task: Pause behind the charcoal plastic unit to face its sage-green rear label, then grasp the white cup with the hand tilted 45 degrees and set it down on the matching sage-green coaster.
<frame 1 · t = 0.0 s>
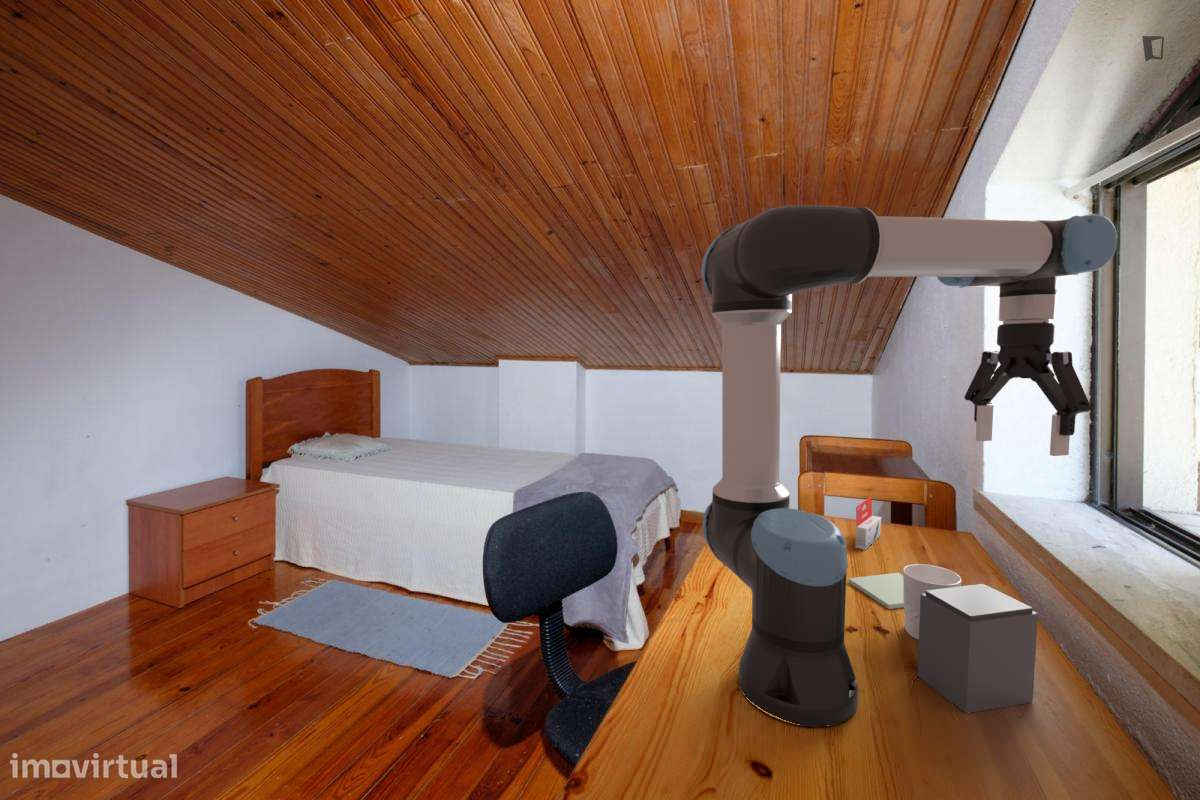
hand: (1018, 447, 92), 28 cm above the table, tool pointing down, fingers open, 13 cm apart
coaster: (893, 591, 101), on the table
white cup: (929, 635, 86), on the table
ink cartridge box: (868, 543, 126), on the table
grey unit: (972, 688, 73), on the table
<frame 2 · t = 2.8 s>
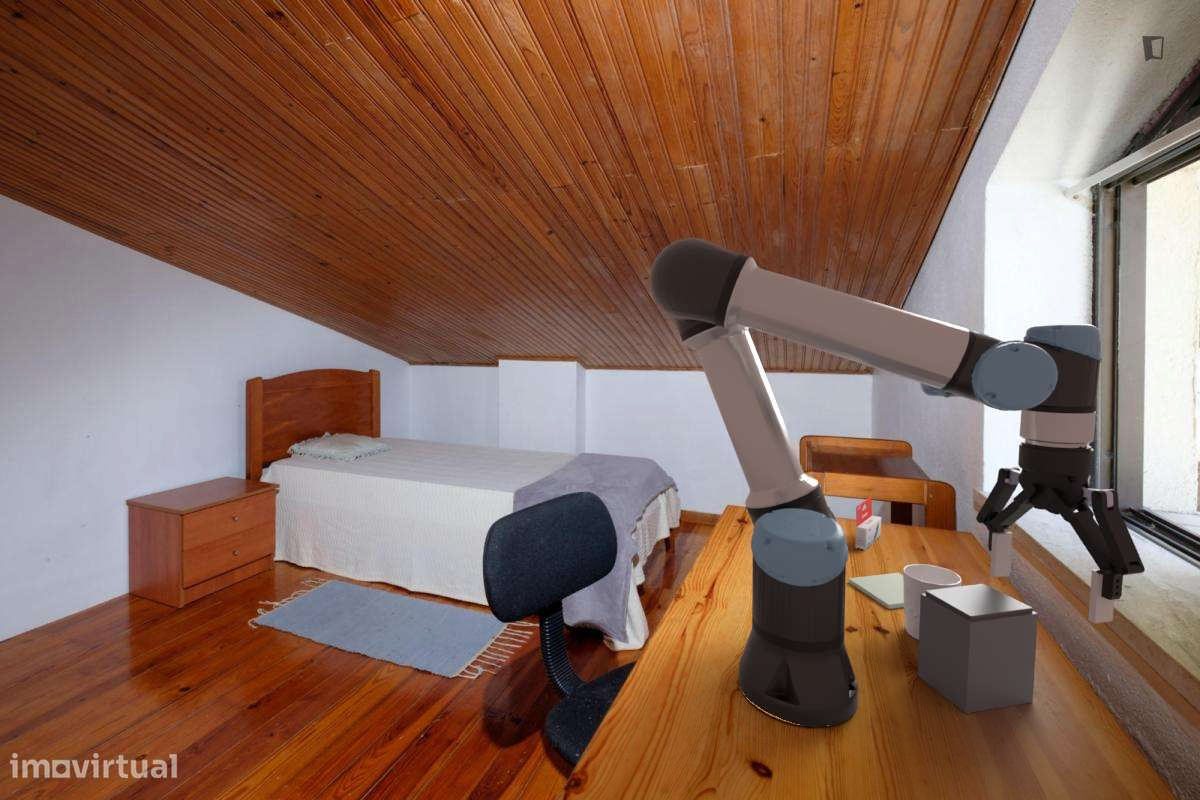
hand: (1045, 596, 73), 12 cm above the table, tool pointing down, fingers open, 13 cm apart
nothing on the table moved.
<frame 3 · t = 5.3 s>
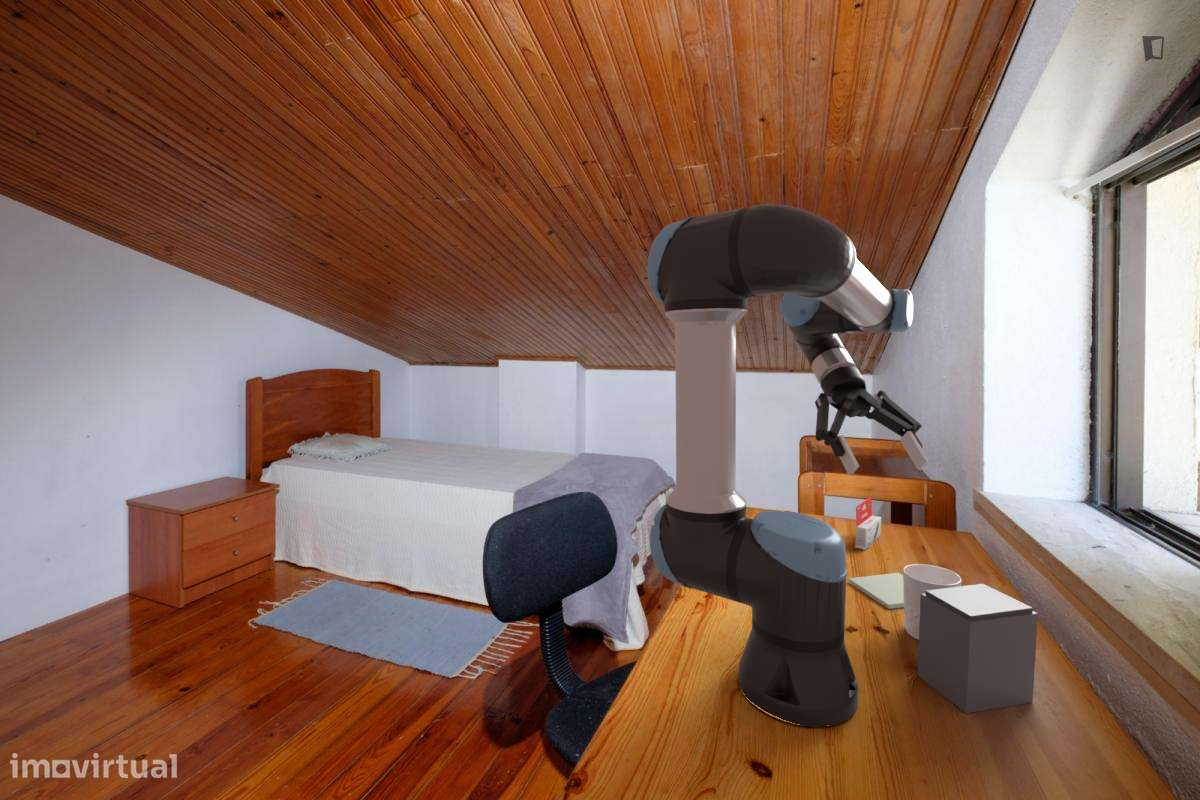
hand: (889, 468, 94), 25 cm above the table, tool tilted 45°, fingers open, 13 cm apart
nothing on the table moved.
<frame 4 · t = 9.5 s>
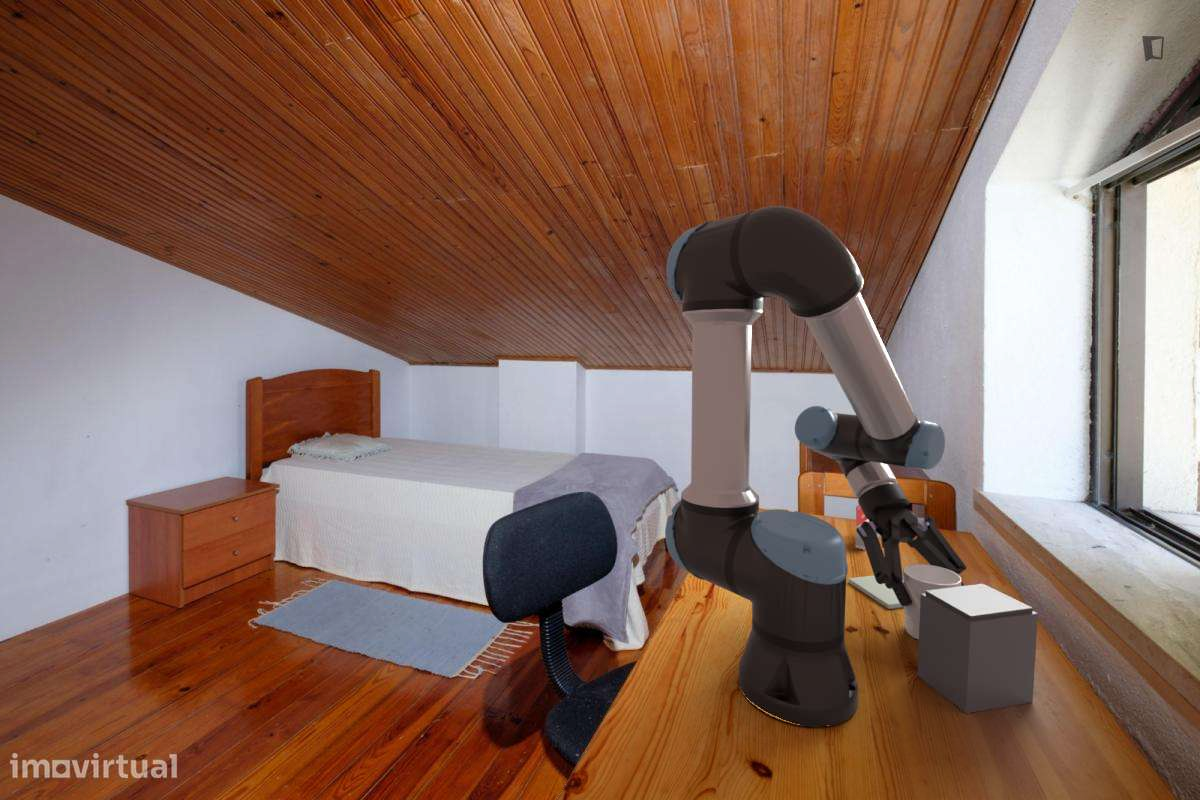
hand: (947, 622, 83), 4 cm above the table, tool tilted 45°, fingers closed on white cup, 8 cm apart
white cup: (929, 635, 86), on the table, touching gripper
everything else where it was.
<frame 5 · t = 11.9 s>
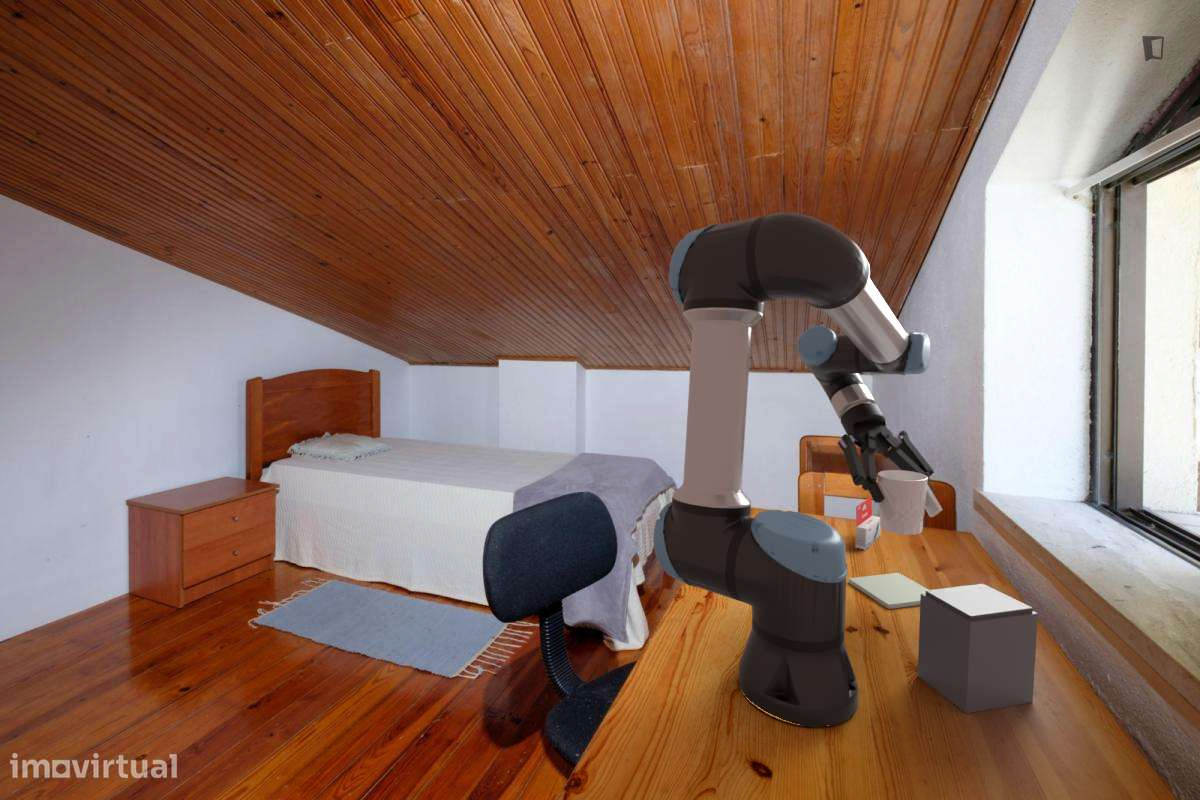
hand: (915, 515, 95), 16 cm above the table, tool tilted 45°, fingers closed on white cup, 8 cm apart
white cup: (900, 529, 98), point 12 cm above the table, touching gripper
everything else where it was.
when the fingers open (5 cm above the table, at t = 14.4 s): white cup stays where it is, resting on coaster.
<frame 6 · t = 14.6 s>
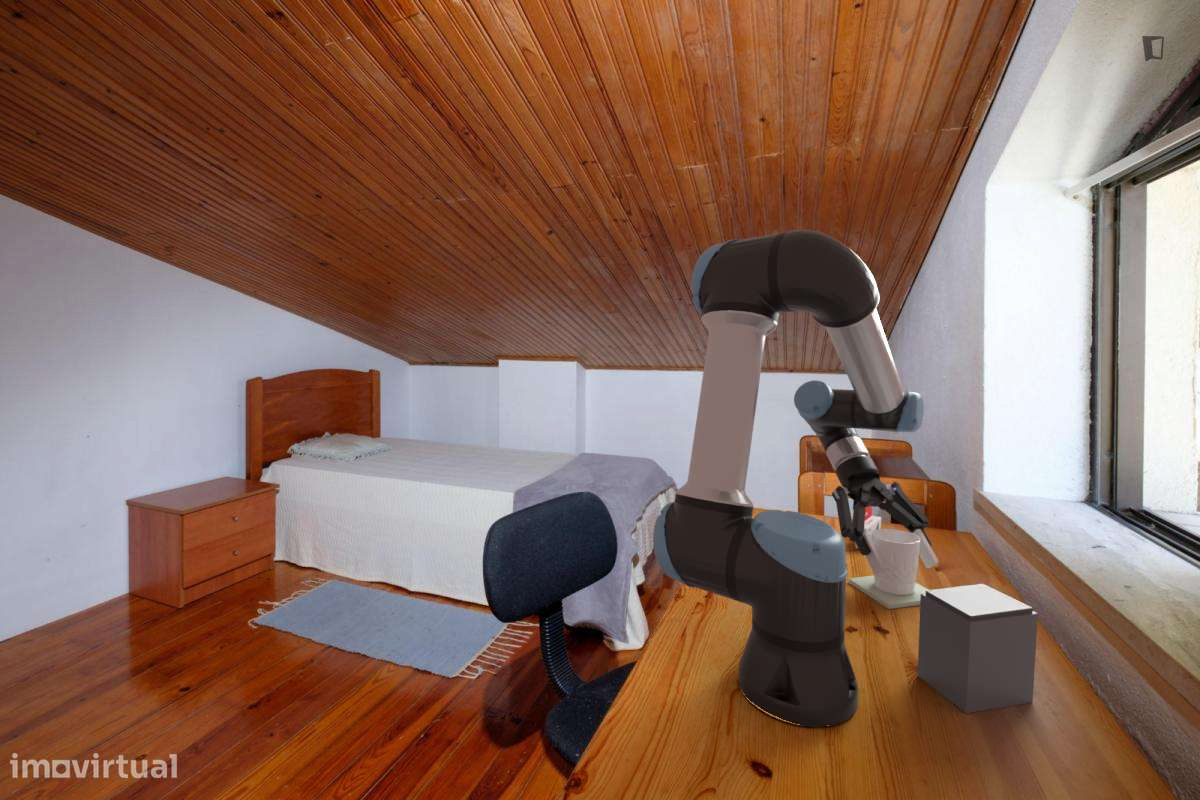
hand: (906, 568, 97), 6 cm above the table, tool tilted 45°, fingers open, 10 cm apart
white cup: (894, 588, 101), point 1 cm above the table, touching coaster
everything else where it was.
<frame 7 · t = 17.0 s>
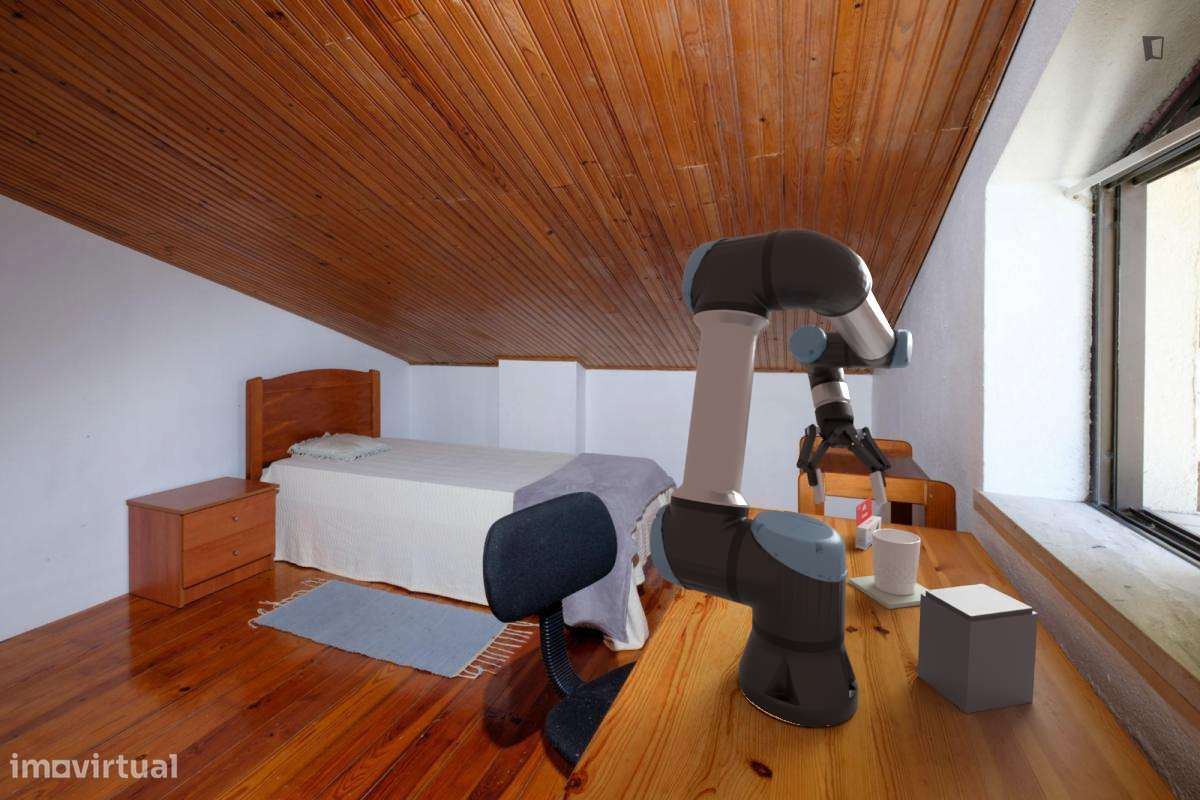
hand: (851, 503, 110), 14 cm above the table, tool tilted 30°, fingers open, 13 cm apart
nothing on the table moved.
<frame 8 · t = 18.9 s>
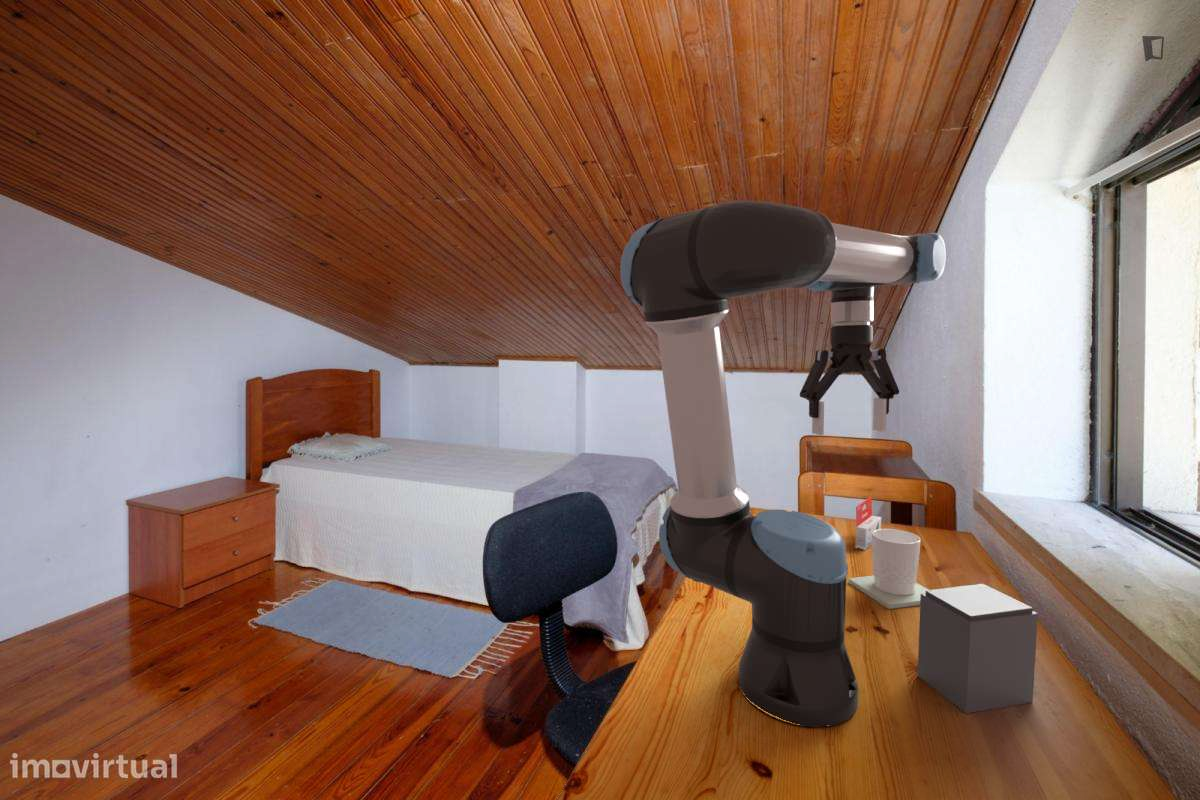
hand: (848, 432, 107), 29 cm above the table, tool pointing down, fingers open, 13 cm apart
nothing on the table moved.
at the end: white cup inside the target area on the coaster (0.1 cm from its centre), point 0.6 cm above the coaster's base; white cup tilted 0°; the gripper is holding nothing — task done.
